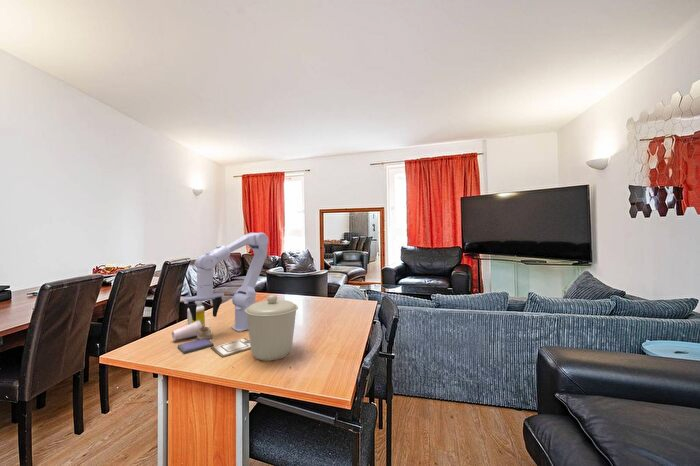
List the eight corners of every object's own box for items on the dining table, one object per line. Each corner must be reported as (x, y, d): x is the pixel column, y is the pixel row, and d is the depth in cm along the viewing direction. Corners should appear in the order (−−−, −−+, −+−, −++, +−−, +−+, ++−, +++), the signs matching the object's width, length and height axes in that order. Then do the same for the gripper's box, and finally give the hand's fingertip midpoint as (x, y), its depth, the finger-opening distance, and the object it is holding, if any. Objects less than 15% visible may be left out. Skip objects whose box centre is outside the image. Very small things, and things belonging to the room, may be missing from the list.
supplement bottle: (208, 327, 123) (207, 299, 123) (195, 333, 117) (195, 303, 117) (197, 326, 126) (196, 298, 125) (184, 331, 119) (183, 302, 119)
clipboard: (246, 338, 111) (246, 336, 111) (259, 346, 104) (259, 344, 104) (210, 348, 102) (210, 346, 102) (222, 357, 94) (222, 355, 94)
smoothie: (177, 343, 105) (214, 331, 115) (174, 326, 106) (211, 316, 116) (172, 344, 109) (208, 332, 119) (169, 328, 110) (206, 318, 121)
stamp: (208, 336, 114) (208, 325, 114) (212, 339, 111) (212, 327, 111) (196, 339, 111) (196, 327, 111) (200, 342, 108) (200, 330, 108)
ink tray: (206, 340, 109) (206, 337, 109) (213, 346, 104) (213, 343, 104) (177, 347, 102) (177, 344, 102) (183, 354, 97) (183, 351, 97)
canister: (232, 362, 90) (233, 298, 91) (263, 342, 108) (264, 288, 108) (281, 369, 86) (282, 302, 86) (306, 347, 103) (306, 291, 103)
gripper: (219, 281, 119) (219, 312, 119) (181, 285, 109) (181, 319, 108) (226, 283, 114) (225, 316, 114) (187, 288, 104) (186, 324, 103)
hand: (204, 318), depth 111 cm, fingers open, 7 cm apart
